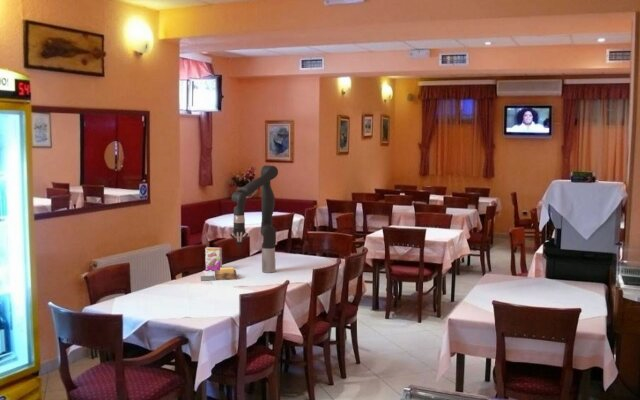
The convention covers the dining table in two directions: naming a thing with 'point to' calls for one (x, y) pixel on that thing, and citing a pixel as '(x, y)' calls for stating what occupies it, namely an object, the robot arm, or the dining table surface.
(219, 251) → the candy bar box
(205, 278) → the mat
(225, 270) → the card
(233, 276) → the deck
